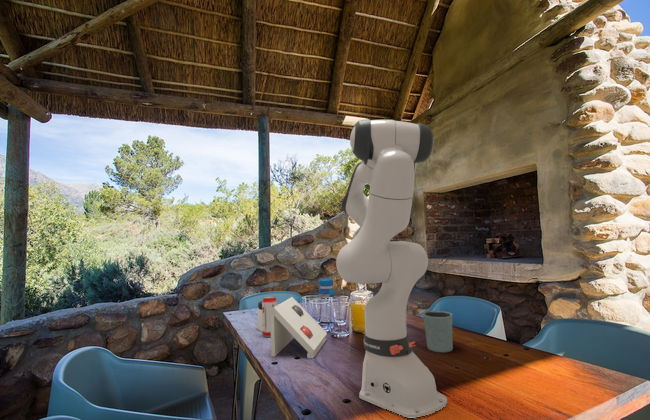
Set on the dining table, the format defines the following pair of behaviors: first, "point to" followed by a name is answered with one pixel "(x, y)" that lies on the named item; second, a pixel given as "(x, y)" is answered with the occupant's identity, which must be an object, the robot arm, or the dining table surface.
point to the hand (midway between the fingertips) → (340, 265)
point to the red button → (306, 331)
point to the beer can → (267, 313)
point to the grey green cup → (438, 330)
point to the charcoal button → (298, 310)
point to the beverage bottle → (326, 288)
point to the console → (294, 328)
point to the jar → (260, 316)
